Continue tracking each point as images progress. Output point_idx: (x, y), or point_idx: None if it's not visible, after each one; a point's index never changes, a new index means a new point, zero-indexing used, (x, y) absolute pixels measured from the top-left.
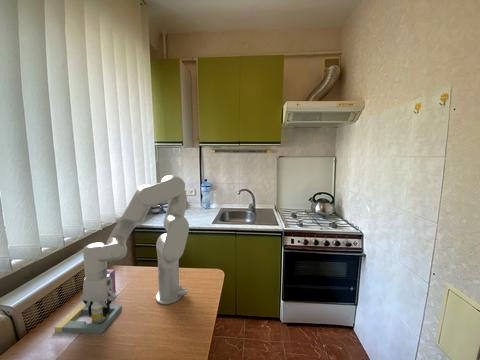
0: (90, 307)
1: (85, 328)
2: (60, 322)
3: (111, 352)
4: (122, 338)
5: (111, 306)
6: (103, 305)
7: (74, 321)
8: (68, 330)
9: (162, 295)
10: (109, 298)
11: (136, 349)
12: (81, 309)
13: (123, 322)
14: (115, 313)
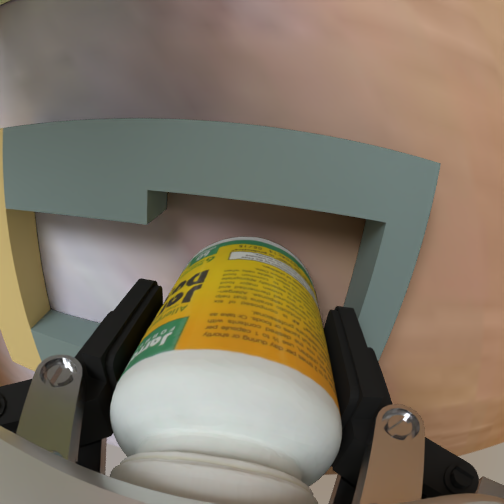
0: None
1: None
2: (4, 332)
3: None
4: (451, 416)
5: (314, 167)
6: (333, 492)
7: (68, 346)
8: None
9: None
10: (421, 488)
11: (489, 436)
12: (6, 206)
13: (457, 326)
14: (403, 285)
